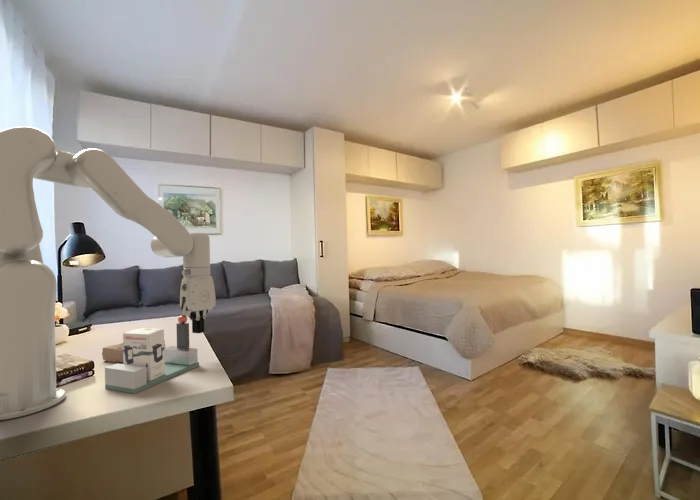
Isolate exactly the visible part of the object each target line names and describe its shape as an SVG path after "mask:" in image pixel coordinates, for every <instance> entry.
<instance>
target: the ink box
mask: <svg viewBox="0 0 700 500" xmlns="http://www.w3.org/2000/svg"><path fill="white" fill-rule="evenodd" d="M164 341H165V329H163V328H153V327H151V328H144V327H141V328H140V327H138V328H135V329H132V330H129V331H126V332H123V333H122V343H123V362H122V364H125V365H132V366H140V367H146V381H151V380H153V379H156V378H158V377H160V376H162V375H164V374H165V353H164V348H165V347H164Z"/></svg>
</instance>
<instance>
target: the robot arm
mask: <svg viewBox="0 0 700 500" xmlns="http://www.w3.org/2000/svg"><path fill="white" fill-rule="evenodd" d="M34 179H35V180H41V181H46V182H51V183H55V184H60V185H67V186H71V187H72V186H73V187H77V188H86V189H87V188H89V189H91V190H93V191H94V192H95V193H96V195H98V197H100V198H101V199H102V200H103V202H105V203H106V204H107V205H108V206H109V207H110V208H111V210H113V211H114V212H115V213H116V214H117V215H118V216H120V217H122V218H124V219H126V220H129V221H131V222H134V223H136V224H138V225H139V226H142V227H143V228H144V229H145V230H147V231H148V232H150V234H152V235H153V236H154V237H153V238H152V239H151V242H150V249H151V251H152V252H153V253H154V254H155V255H157V256H158V257H161V258H178V257H179V258H180V257H181V258H182V266H183V267H182V269H183V270H181V275H182V277H183V278H182V279H181V284H180V288H179V289H180V290H179V292H180V293H179V308H180V311H182V312H181V315H185V316H186V317H187V318H189V320H190V321H191V331H192V334H202V333H204V332H205V320H206V318H207V314H208V313H209V312H211V311H212V310H213V308H214V307H216V305H217V304H216V303H217V301H216V300H217V299H216V289H215V282H214V278H213V276H211V248H210V247H211V243H210V242H211V241H210V235H209V234H207V233H204V232H189V231H188V229H187V228H186V227H185V225H183V224H182V222H181V221H180V220H179V219H178V218H177V217H175V215H174V214H172V213H171V212H170V211H169V210H168V209H166V208H165V207H164V206H162V205H161V204H159V203H158V202H156V201H155V200H154V199H153V198H151V197H149V196H148V195H147V194H146V193H145V192H144V191H143V190H142V189H141V188H140V187H139V186H138V184H136V182H135V181H134V179H132V178H131V177H130V176H129V174H128V173H127V172H126V171H125V170H124V169H123V168H122V167H121V166H120V164H119V163H117V161H116V160H115V159H114V158H113V157H112V156H111V155H110V154H108V153H107V152H106V151H104V150H102V149H99V148H87V149H86V148H85V149H83V150H81V151H78V153H71V152H69V151H67V152H66V151H63V150H60V149H58V148H57V145H56V143H55V141H54V140H53V138H52V137H51V135H49V134H48V133H47V132H45V131H44V130H42V129H39V128H37V127H33V126H22V125H20V126H14V127H9V128H6V129H3V130H1V131H0V421H4V420H11V419H15V418H21V417H24V416H27V415H32V414H36V413H38V412H41V411H44V410H46V409H49V408H51V407H53V406H55V405H57V404H59V403H60V402H62V401H63V400H64V399H65V398H66V390H64V389H63V388H57V360H56V359H57V354H56V350H57V349H56V347H57V346H56V343H57V342H56V299H57V291H58V290H57V289H58V287H57V278H56V275H55V273H54V271H53V270H52V269H51V268H50V267H49V266H47V265H46V264H45V263H44V261H43V255H42V251H41V250H42V249H41V246H40V243H41V242H42V240H43V237H44V230H43V227H42V225H41V221H40V217H39V216H40V215H39V213H38V208H37V204H36V203H37V202H36V199H35V192H34V186H33V185H34V183H33V181H34Z"/></svg>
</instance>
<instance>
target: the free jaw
mask: <svg viewBox="0 0 700 500" xmlns="http://www.w3.org/2000/svg"><path fill="white" fill-rule="evenodd" d="M187 321H188V316H185V315H182V314H181V315H179V317H178V318H177V322H178V323H176V324H175V325H176V346H175V345H171V346H167V347H164V353H165V363H173V364H181V365H191V364H194V363H196V362H199V361H198V359H199V357H198V348H195V347H190V324H189V322H187Z"/></svg>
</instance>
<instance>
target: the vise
mask: <svg viewBox="0 0 700 500" xmlns="http://www.w3.org/2000/svg"><path fill="white" fill-rule="evenodd" d="M199 366H200V362H199V361H198V362H196V363H194V364H191V365H181V364H173V363H165V374H164V375H162V376H160V377H158V378H156V379H153V380H151V381H146V367H140V366H132V365H125V364H123V363H114V364H112V365H109V366H106V367H104V383H105V385H104V387H105V389H108V390H112V391H116V392H117V391H118V392H124V393H130V394H136V393H139V392H141V391H143V390H147V388H150V387H152V386H155V385H157V384H160V383H162V382H165V381H166V380H168V379H171V378H173V377H175V376H178V375H181V374H183V373H185V372H187V371H190V370H192V369H194V368H197V367H199Z"/></svg>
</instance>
